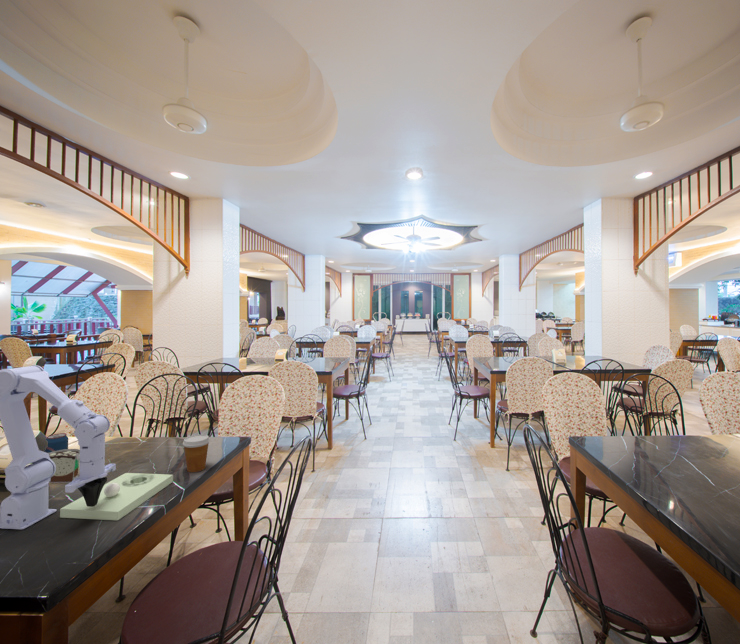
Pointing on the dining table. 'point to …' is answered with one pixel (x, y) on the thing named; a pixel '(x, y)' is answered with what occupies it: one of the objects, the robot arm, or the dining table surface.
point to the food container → (65, 465)
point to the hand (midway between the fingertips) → (92, 505)
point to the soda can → (57, 442)
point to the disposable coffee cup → (196, 452)
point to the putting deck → (119, 497)
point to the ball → (111, 489)
